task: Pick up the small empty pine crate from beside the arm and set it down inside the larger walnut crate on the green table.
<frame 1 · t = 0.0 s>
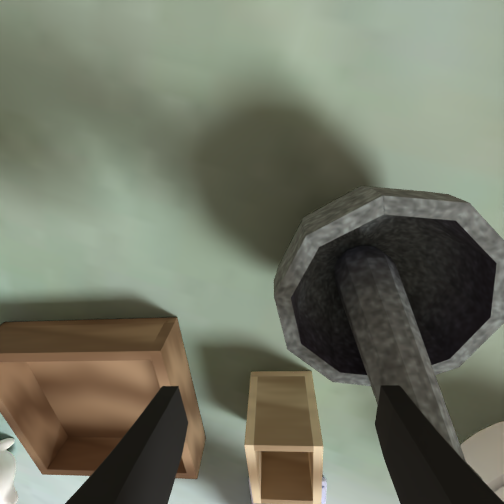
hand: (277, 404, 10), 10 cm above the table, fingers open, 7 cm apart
large crate: (114, 385, 25), on the table
mortar and pestle: (349, 252, 19), on the table
small crate: (282, 399, 25), on the table
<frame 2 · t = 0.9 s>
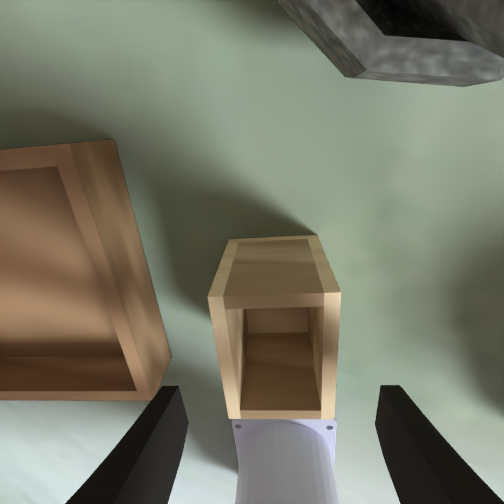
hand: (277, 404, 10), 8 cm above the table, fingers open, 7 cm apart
large crate: (38, 271, 18), on the table
small crate: (275, 289, 17), on the table
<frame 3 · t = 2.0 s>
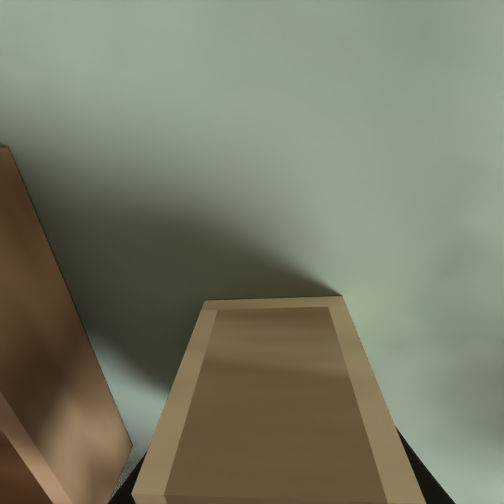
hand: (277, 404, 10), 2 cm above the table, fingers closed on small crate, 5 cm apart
small crate: (276, 369, 12), on the table, touching gripper
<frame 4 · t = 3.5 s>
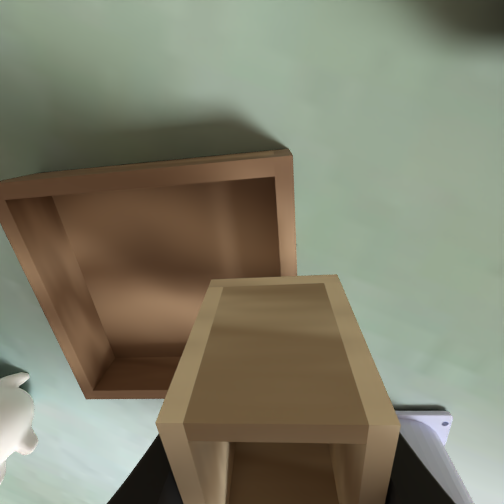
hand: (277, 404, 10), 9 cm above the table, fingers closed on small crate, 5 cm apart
large crate: (183, 275, 19), on the table
small crate: (277, 344, 13), point 6 cm above the table, touching gripper
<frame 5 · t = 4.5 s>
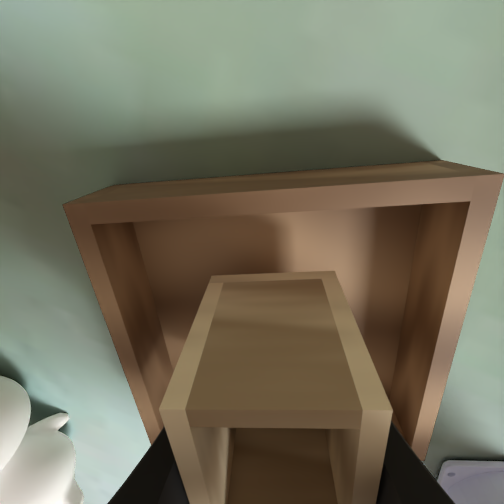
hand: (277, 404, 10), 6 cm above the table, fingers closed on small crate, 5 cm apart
large crate: (276, 308, 15), on the table
cat figurine: (24, 406, 21), on the table
small crate: (276, 339, 13), point 3 cm above the table, touching gripper
when the fingers open (4 cm above the table, at t = 5.3 s): small crate stays where it is, resting on large crate.
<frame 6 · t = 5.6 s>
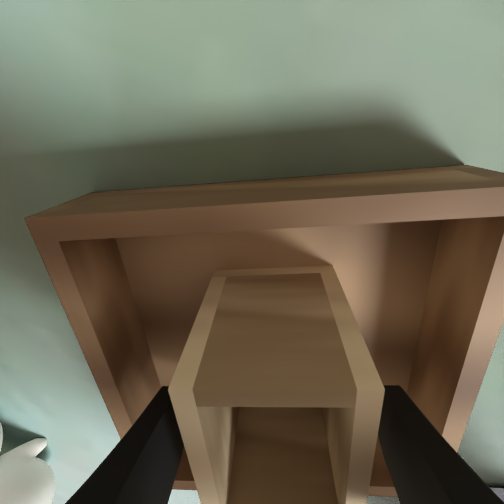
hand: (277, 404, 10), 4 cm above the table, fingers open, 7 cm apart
large crate: (276, 327, 14), on the table
cat figurine: (0, 431, 20), on the table
small crate: (276, 332, 13), point 1 cm above the table, touching large crate
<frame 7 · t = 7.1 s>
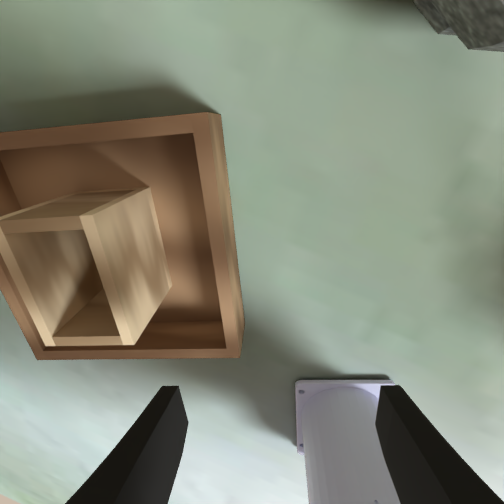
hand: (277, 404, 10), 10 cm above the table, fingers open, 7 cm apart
large crate: (131, 241, 20), on the table
small crate: (126, 241, 19), point 1 cm above the table, touching large crate
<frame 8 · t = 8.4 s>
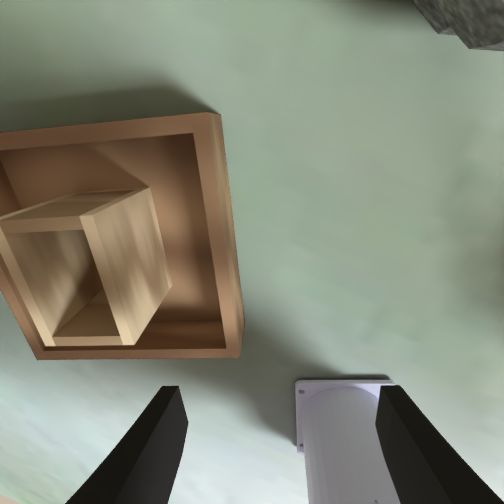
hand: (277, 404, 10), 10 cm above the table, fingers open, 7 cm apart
large crate: (131, 241, 20), on the table
small crate: (126, 241, 19), point 1 cm above the table, touching large crate
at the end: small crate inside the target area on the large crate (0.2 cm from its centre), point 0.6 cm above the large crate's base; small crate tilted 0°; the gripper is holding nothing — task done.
